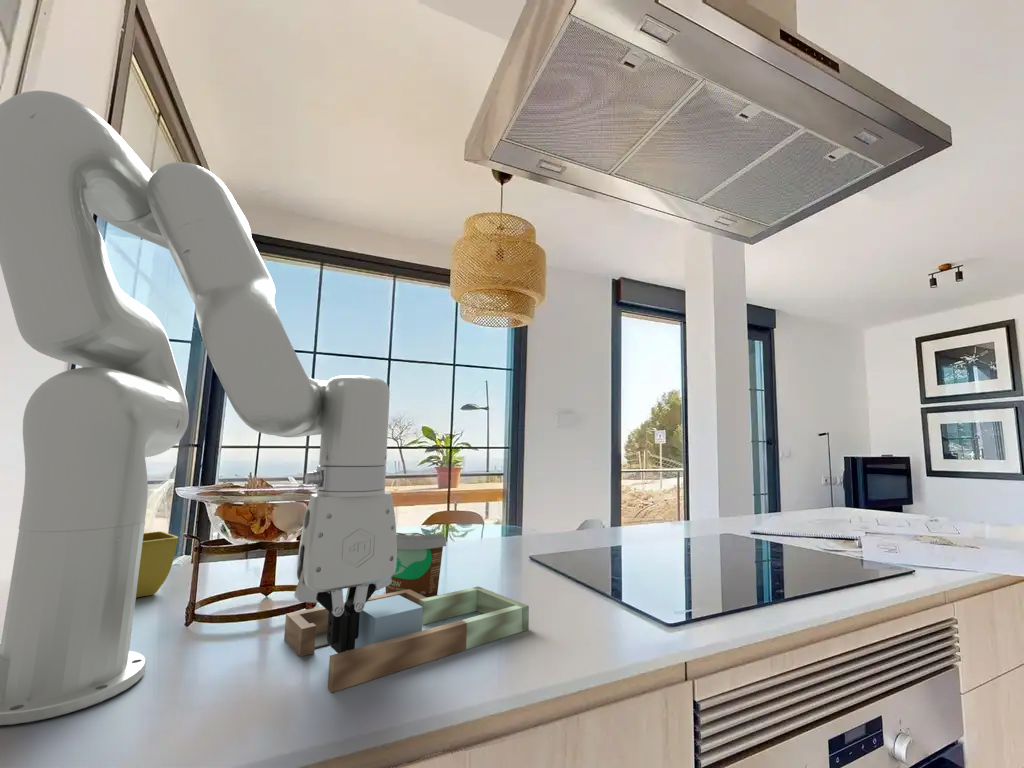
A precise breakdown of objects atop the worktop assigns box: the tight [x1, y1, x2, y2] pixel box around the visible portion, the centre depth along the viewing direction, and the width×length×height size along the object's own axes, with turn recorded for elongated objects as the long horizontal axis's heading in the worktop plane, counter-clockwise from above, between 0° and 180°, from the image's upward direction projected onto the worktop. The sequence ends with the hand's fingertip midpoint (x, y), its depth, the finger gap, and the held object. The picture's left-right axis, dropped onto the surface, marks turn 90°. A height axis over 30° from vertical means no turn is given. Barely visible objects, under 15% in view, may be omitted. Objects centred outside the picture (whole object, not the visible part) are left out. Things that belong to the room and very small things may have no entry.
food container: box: [384, 532, 447, 598], centre depth 77 cm, size 12×6×10 cm, turn 62°
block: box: [355, 595, 423, 649], centre depth 56 cm, size 6×6×5 cm
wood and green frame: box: [283, 586, 530, 693], centre depth 60 cm, size 26×17×3 cm, turn 131°
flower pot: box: [136, 530, 179, 598], centre depth 74 cm, size 9×9×9 cm
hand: (342, 648), depth 52 cm, fingers closed
